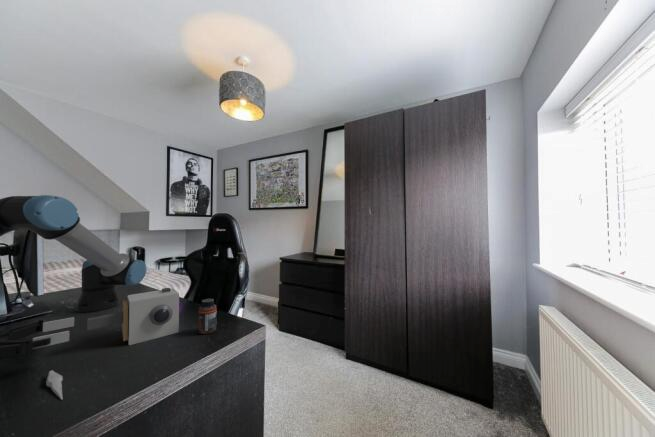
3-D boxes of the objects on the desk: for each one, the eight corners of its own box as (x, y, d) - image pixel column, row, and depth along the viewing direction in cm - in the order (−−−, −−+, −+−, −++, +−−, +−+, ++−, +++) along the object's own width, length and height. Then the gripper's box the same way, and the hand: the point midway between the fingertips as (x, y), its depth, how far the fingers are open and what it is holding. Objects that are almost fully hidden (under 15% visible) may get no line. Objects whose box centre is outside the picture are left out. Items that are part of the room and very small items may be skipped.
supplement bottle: (195, 331, 88) (196, 300, 89) (212, 326, 93) (212, 296, 93) (201, 336, 84) (202, 303, 85) (219, 330, 89) (219, 299, 89)
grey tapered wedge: (42, 379, 61) (43, 371, 61) (58, 373, 63) (58, 366, 63) (53, 407, 53) (53, 398, 53) (70, 400, 55) (71, 391, 55)
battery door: (87, 340, 78) (88, 306, 79) (125, 331, 85) (126, 300, 85) (86, 350, 72) (87, 313, 72) (127, 340, 79) (128, 306, 79)
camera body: (126, 335, 85) (126, 292, 86) (173, 324, 95) (173, 285, 95) (128, 348, 76) (129, 300, 77) (180, 334, 86) (180, 291, 86)
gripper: (-34, 349, 68) (75, 327, 82) (-87, 396, 49) (66, 357, 64) (-33, 322, 68) (76, 305, 82) (-85, 359, 50) (66, 328, 64)
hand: (71, 328), depth 73 cm, fingers open, 13 cm apart
